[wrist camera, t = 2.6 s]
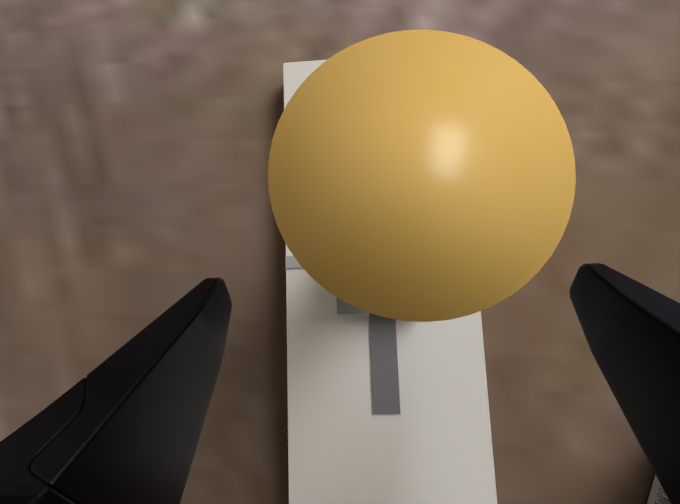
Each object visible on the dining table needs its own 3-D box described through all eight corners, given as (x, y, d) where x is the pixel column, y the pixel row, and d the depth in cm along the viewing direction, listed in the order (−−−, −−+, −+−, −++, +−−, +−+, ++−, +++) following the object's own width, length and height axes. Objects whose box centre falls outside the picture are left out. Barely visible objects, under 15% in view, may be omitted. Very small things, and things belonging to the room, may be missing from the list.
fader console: (486, 503, 16) (499, 524, 15) (295, 502, 17) (288, 523, 15) (450, 60, 19) (458, 39, 18) (289, 72, 20) (283, 53, 18)
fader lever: (430, 310, 16) (598, 340, 5) (334, 313, 16) (268, 348, 5) (423, 203, 17) (554, 0, 5) (331, 208, 17) (266, 23, 6)
